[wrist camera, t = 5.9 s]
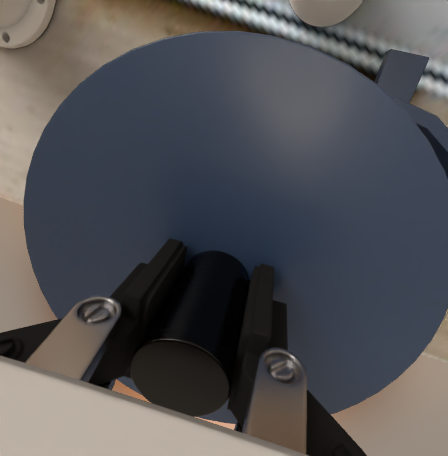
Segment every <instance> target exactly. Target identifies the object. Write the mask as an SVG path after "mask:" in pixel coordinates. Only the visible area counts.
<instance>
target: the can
mask: <svg viewBox="0 0 448 456" xmlns="http://www.w3.org/2000/svg"><path fill="white" fill-rule="evenodd" d="M362 1H363V0H289V2H290V5H291V7H292V9H293V11H294V12H295V14H296V15H297V16H298V17H299V18H300V19H301V20H302V21H304V22H305V23H307V24H309V25H312V26H317V27H326V26H331V25H335V24H337V23H339V22H341V21H343V20H345V19H346V18H347V17H349V16H350V15H351V14H352V13H353V12H354V11H355V10H356V9H357V8H358V7H359V5H360V4H361V3H362Z"/></svg>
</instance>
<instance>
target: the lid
mask: <svg viewBox="0 0 448 456" xmlns="http://www.w3.org/2000/svg"><path fill="white" fill-rule="evenodd" d="M24 229H25V235H26V243H27V249H28V252H29V256H30V260H31V264H32V268H33V270H34V273H35V276H36V278H37V281H38V283H39V286H40V288H41V290H42V293H43V295H44V296H45V298H46V300H47V302H48V304H49V306H50V308H51V310H52V311H53V312H54V314H55V316H56V317H57V319H62V318H64V317H65V316H66V315H67V313H68V312H69V311H70V310H71V309H72V308H73V307H74V305H75V304H77V303H78V302H79V301H81V300H83V299H85V298H87V297H91V296H100V295H101V296H108V297H110V296H111V295H112V293H113V292H114V291H115V290H116V289H117V288H118V287H119V286H120V284H121V283H122V282H123V281H124V280H125V279H126V278H127V277H128V275H129V274H130V273H131V272H132V271H133V270H134V269H135V268H136V266H137V265H138V264H139V263H141V262H142V263H146V264H148V263H149V262H150V261H151V260H152V259H153V257H154V256H155V255H156V254H157V253H158V251H159V250H160V249H161V248H162V247H163V245H164V244H165V243H166V242H167V240H168V239H169V238H171V239H175V240H179V241H182V242H183V245H184V246H187V250H186V256H185V261H184V267H183V271H182V273H181V274H180V276H179V278H178V279H177V281H176V283H175V284H174V286H173V288H172V290H171V291H170V293H169V295H168V296H167V298H166V300H165V301H164V303H163V305H162V306H161V308H160V310H159V312H158V313H157V315H156V317H155V318H154V320H153V322H152V323H151V325H150V327H149V328H148V330H147V332H146V333H145V335H144V337H143V339H142V340H141V342H140V344H139V345H138V347H137V349H136V350H135V352H134V354H133V356H132V358H131V362H130V373H131V377H132V378H128V377H125V376H123V377H120V378H117V380H118V381H120V382H121V383H123V384H124V385H126V386H127V387H129V388H131V389H132V390H134V391H136V392H138V393H139V394H141V395H143V396H144V397H145V398H146V399H147V400H148V401H149V402H151V403H152V404H155V405H158V406H162V407H165V408H168V409H171V410H174V411H177V412H180V413H183V414H186V415H189V416H192V417H199V418H203V419H207V420H213V421H218V422H224V423H231V424H236V422H237V420H236V418H235V416H234V415H233V413H232V412H231V410H228V409H227V406H228V401H229V396H230V391H231V386H232V381H233V375H234V369H235V362H236V354H237V348H238V343H239V337H240V332H241V326H242V321H243V315H244V310H245V305H246V299H247V294H248V288H249V284H250V281H251V277H252V274H253V271H254V267H255V265H256V266H259V267H260V265H261V263H262V264H265V265H269V266H272V267H274V287H273V300H275V301H279V302H282V303H286V304H287V336H288V351H290V352H292V353H293V354H294V355H296V356H297V357H298V358H299V359H300V360H301V362H302V363H303V364H304V366H305V368H306V373H307V389H308V390H309V392H310V393H311V394H312V395H313V396H314V397H315V398H316V399H317V400H318V402H319V403H320V404H321V405H322V406H323V407H324V408H325V409H326V410H327V411H328V413H329V414H334V413H337V412H339V411H342V410H344V409H346V408H349V407H351V406H354V405H356V404H358V403H360V402H362V401H363V400H365V399H367V398H369V397H371V396H372V395H374V394H376V393H378V392H379V391H381V390H382V389H383V388H385V387H386V386H387V385H389V384H390V383H391V382H393V381H394V380H396V379H397V378H398V377H399V376H400V375H401V374H402V373H403V372H404V371H405V370H406V369H407V368H408V367H410V365H411V364H413V363H414V362H415V361H416V359H417V358H418V357H419V356H420V354H421V353H422V352H423V350H424V349H425V348H426V347H427V345H428V344H429V343H430V342H431V340H432V338H433V337H434V335H435V333H436V331H437V329H438V328H439V326H440V324H441V322H442V321H443V319H444V317H445V314H446V311H447V309H448V180H447V177H446V174H445V171H444V169H443V167H442V165H441V163H440V161H439V160H438V158H437V156H436V154H435V152H434V150H433V148H432V146H431V144H430V142H429V141H428V139H427V138H426V137H425V135H424V134H423V133H422V131H421V130H420V129H419V127H418V126H417V125H416V123H415V122H414V121H413V119H412V118H411V117H410V116H409V114H408V113H407V112H406V111H405V110H404V109H403V108H402V107H401V106H400V105H399V104H398V103H397V102H396V101H395V100H394V99H393V98H392V97H391V96H390V95H388V94H387V93H386V92H385V91H384V90H383V89H382V88H381V87H380V86H379V85H377V84H376V83H374V82H373V81H372V80H370V79H369V78H367V77H366V76H364V75H363V74H361V73H360V72H358V71H357V70H356V69H354V68H353V67H351V66H350V65H348V64H346V63H344V62H342V61H340V60H338V59H336V58H334V57H332V56H330V55H328V54H325V53H323V52H321V51H319V50H317V49H315V48H313V47H310V46H307V45H303V44H300V43H296V42H293V41H290V40H286V39H283V38H280V37H276V36H271V35H263V34H256V33H249V32H241V31H208V32H195V33H189V34H184V35H178V36H173V37H167V38H163V39H160V40H157V41H155V42H152V43H149V44H146V45H143V46H140V47H138V48H135V49H132V50H130V51H128V52H126V53H125V54H123V55H121V56H119V57H117V58H116V59H114V60H112V61H110V62H108V63H106V64H105V65H103V66H102V67H100V68H99V69H98V70H97V71H95V72H94V73H93V74H92V75H90V76H89V77H88V78H86V79H85V80H84V81H83V82H81V83H80V84H79V85H78V86H77V87H76V88H75V89H74V90H73V92H72V93H71V94H70V95H69V96H68V97H67V98H66V99H65V100H64V101H63V102H62V103H61V105H60V106H59V107H58V109H57V110H56V112H55V113H54V115H53V116H52V118H51V119H50V121H49V122H48V124H47V125H46V127H45V128H44V131H43V133H42V135H41V137H40V139H39V142H38V144H37V146H36V148H35V151H34V153H33V156H32V160H31V164H30V167H29V171H28V174H27V179H26V187H25V195H24Z"/></svg>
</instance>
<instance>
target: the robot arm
mask: <svg viewBox="0 0 448 456" xmlns="http://www.w3.org/2000/svg"><path fill="white" fill-rule="evenodd" d="M55 2H56V0H0V47H3V48H13V49H14V48H20V47H24V46H26V45H29V44H31V43H33V42H34V41H35V40H36V39H37V38H39V37H40V36H41V34H42V33H43V32H44V30H45V29H46V28H47V26H48V24H49V21H50V19H51V17H52V14H53V10H54V6H55ZM186 250H187V246H184V245H183V242H182V241H179V240H175V239H171V238H169V239H168V240H167V242H166V243H165V244H164V245H163V247H162V248H161V249H160V250H159V251H158V253H157V254H156V255H155V256H154V257H153V259H152V260H151V261H150V262H149V263H148V264H146V263H142V262H141V263H139V264H138V265H137V266H136V268H135V269H134V270H133V271H132V272H131V273H130V274H129V275H128V277H127V278H126V279H125V280H124V281H123V282H122V283H121V284H120V286H119V287H118V288H117V289H116V290H115V291H114V292H113V293H112V295H111V296H110V297H108V296H101V295H100V296H91V297H87V298H85V299H83V300H81V301H79V302H78V303H77V304H75V305H74V307H73V308H72V309H71V310H70V311H69V312H68V313H67V315H66V316H65V317H64V318H62V319H58V320H54V321H50V322H45V323H41V324H37V325H32V326H28V327H24V328H19V329H15V330H11V331H7V332H2V333H0V456H366V454H365V453H364V452H363V450H362V449H361V448H360V447H359V446H358V445H357V444H356V442H355V441H353V439H352V438H351V437H350V436H349V435H348V434H347V432H346V431H345V430H344V429H343V428H342V427H341V426H340V425H339V424H338V423H337V421H336V420H335V419H334V418H333V417H332V416H331V415H330V414H329V413H328V411H327V410H326V409H325V408H324V407H323V406H322V405H321V404H320V403H319V402H318V400H317V399H316V398H315V397H314V396H313V395H312V394H311V393H310V392H309V390H308V389H307V373H306V368H305V366H304V364H303V363H302V362H301V360H300V359H299V358H298V357H297V356H296V355H294V354H293V353H292V352H290V351H288V336H287V304H286V303H282V302H279V301H275V300H273V287H274V267H272V266H269V265H265V264H262V263H261V265H260V267H259V266H256V265H255V267H254V271H253V274H252V277H251V281H250V284H249V288H248V294H247V299H246V305H245V310H244V315H243V321H242V326H241V332H240V337H239V343H238V348H237V354H236V362H235V369H234V375H233V381H232V386H231V391H230V396H229V401H228V406H227V409H228V410H231V412H232V413H233V415H234V416H235V418H236V420H237V422H236V425H235V429H234V430H232V429H228V428H226V427H223V426H219V425H217V424H213V423H210V422H207V421H204V420H201V419H198V418H195V417H192V416H189V415H186V414H183V413H180V412H177V411H174V410H171V409H168V408H165V407H162V406H158V405H155V404H152V403H149V402H146V401H143V400H140V399H137V398H133V397H131V396H127V395H124V394H121V393H118V392H115V391H112V388H113V386H114V384H115V380H116V379H117V378H120V377H123V376H125V377H128V378H132V377H131V373H130V362H131V358H132V356H133V354H134V352H135V350H136V349H137V347H138V345H139V344H140V342H141V340H142V339H143V337H144V335H145V333H146V332H147V330H148V328H149V327H150V325H151V323H152V322H153V320H154V318H155V317H156V315H157V313H158V312H159V310H160V308H161V306H162V305H163V303H164V301H165V300H166V298H167V296H168V295H169V293H170V291H171V290H172V288H173V286H174V284H175V283H176V281H177V279H178V278H179V276H180V274H181V273H182V271H183V267H184V261H185V256H186Z"/></svg>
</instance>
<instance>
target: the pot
mask: <svg viewBox="0 0 448 456" xmlns="http://www.w3.org/2000/svg"><path fill="white" fill-rule="evenodd" d="M428 60H429V57H425V56H420V55H416V54H411V53H407V52H402V51H398V50H393V49H390V50H388V51H387V52H386V53H385V56H384V58H383V61H382V63H381V66H380V68H379V71H378V74H377V76H376V79H375V81H374V83H376V84H377V85H379V86H380V87H381V88H382V89H383V90H384V91H385V92H386V93H387V94H388V95H390V96H391V97H392V98H393V99H394V100H395V101H396V102H397V103H398V104H399V105H400V106H401V107H402V108H403V109H404V110H405V111H406V112H407V113H408V114H409V116H410V117H411V118H412V119H413V121H414V122H415V123H416V125H417V126H418V127H419V129H420V130H421V131H422V133H423V134H424V135H425V137H426V138H427V139H428V141H429V142H430V144H431V146H432V148H433V150H434V152H435V154H436V156H437V158H438V160H439V161H440V163H441V165H442V167H443V169H444V171H445V174H446V177H447V180H448V128H447V127H446V126H445V125H444V123H443V122H442V121H441V120H440V119H439V118H438V117H437V116H435V115H433V114H431V113H429V112H427V111H424V110H422V109H420V108H418V107H416V106H414V105H411V104H409V103H410V101H411V98H412V96H413V94H414V92H415V89H416V87H417V85H418V83H419V80H420V78H421V76H422V74H423V71H424V69H425V67H426V65H427V62H428Z"/></svg>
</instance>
